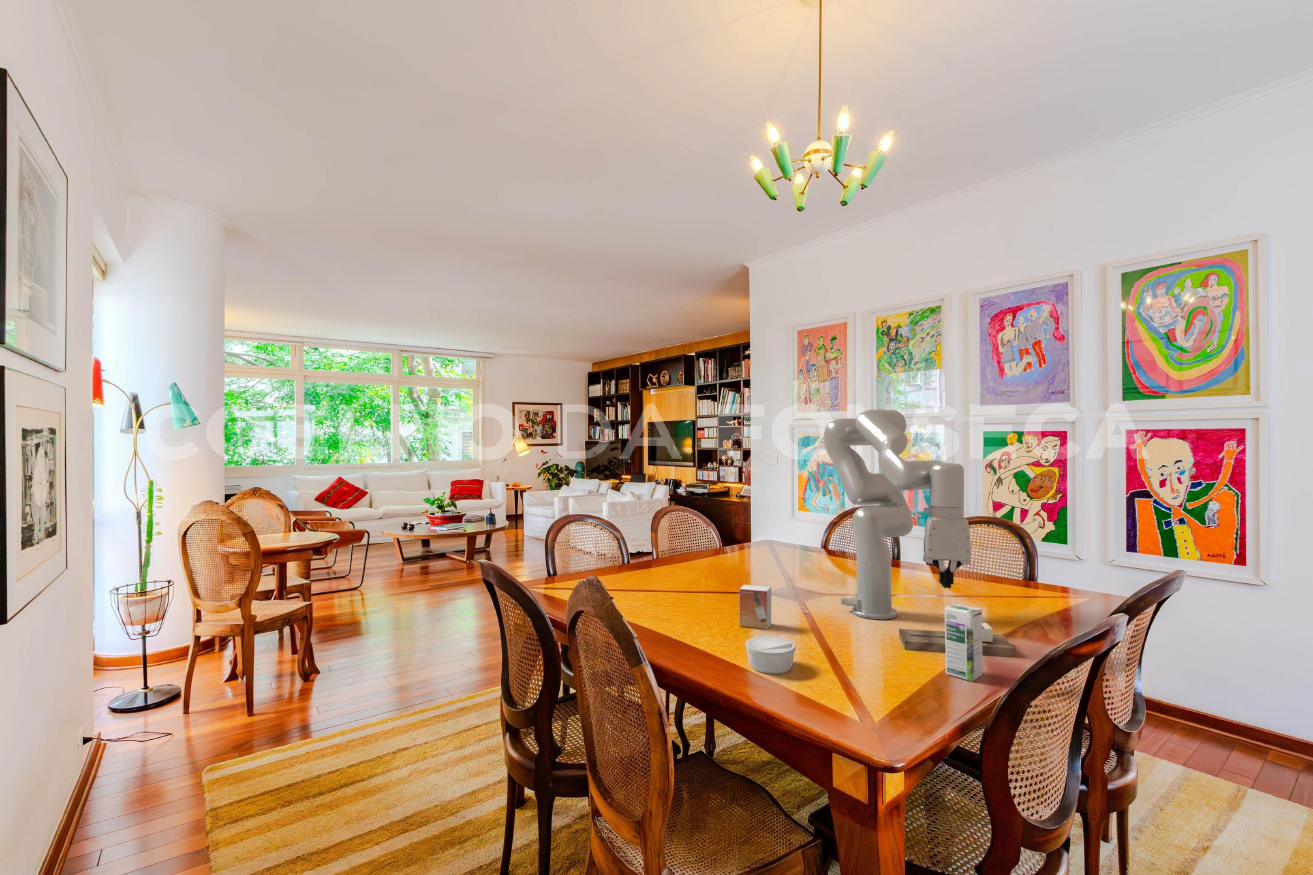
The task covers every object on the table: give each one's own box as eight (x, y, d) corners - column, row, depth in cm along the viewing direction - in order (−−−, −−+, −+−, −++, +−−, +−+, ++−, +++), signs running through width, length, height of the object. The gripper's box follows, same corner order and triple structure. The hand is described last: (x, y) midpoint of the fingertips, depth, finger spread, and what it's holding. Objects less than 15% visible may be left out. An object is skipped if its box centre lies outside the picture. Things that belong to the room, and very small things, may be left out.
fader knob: (974, 640, 144) (974, 627, 144) (969, 634, 149) (968, 621, 149) (992, 641, 143) (992, 628, 143) (986, 635, 148) (986, 622, 148)
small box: (738, 626, 166) (738, 588, 166) (743, 620, 171) (743, 583, 171) (767, 629, 163) (767, 590, 163) (771, 623, 168) (771, 586, 168)
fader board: (904, 649, 146) (904, 640, 146) (898, 636, 156) (898, 628, 156) (1015, 656, 140) (1014, 647, 140) (1001, 642, 150) (1001, 634, 150)
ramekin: (785, 680, 128) (785, 655, 128) (737, 670, 134) (737, 646, 134) (802, 663, 138) (802, 640, 138) (757, 654, 144) (756, 632, 144)
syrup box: (944, 674, 130) (943, 607, 130) (956, 667, 134) (955, 602, 134) (972, 682, 126) (970, 612, 126) (983, 674, 130) (982, 607, 130)
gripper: (916, 514, 147) (916, 588, 147) (984, 516, 143) (983, 592, 143) (911, 510, 154) (911, 581, 154) (976, 511, 150) (975, 584, 151)
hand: (946, 586), depth 149 cm, fingers closed
